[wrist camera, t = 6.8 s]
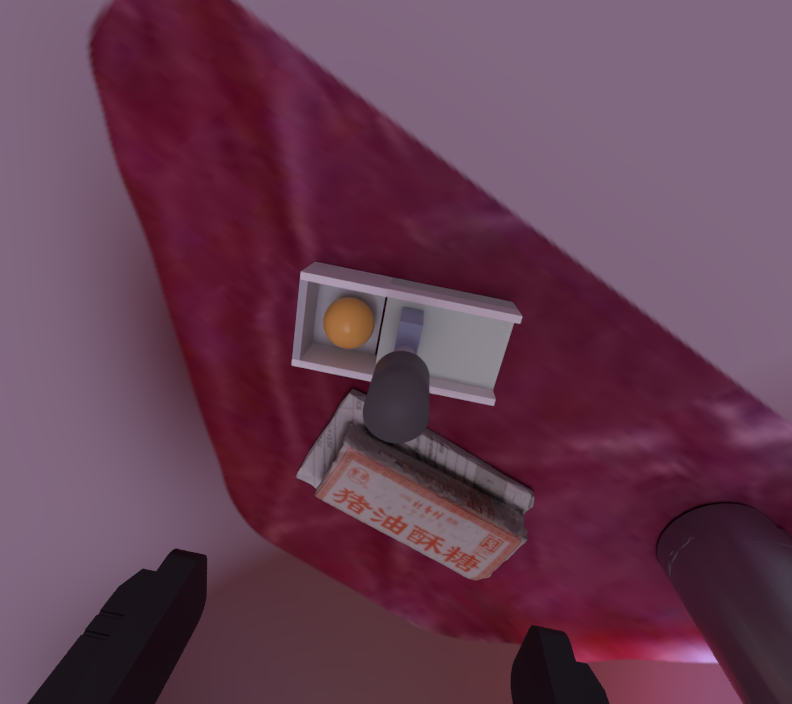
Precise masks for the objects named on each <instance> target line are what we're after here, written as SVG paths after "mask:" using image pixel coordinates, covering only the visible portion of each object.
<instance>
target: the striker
mask: <svg viewBox="0 0 792 704" xmlns="http://www.w3.org/2000/svg"><path fill="white" fill-rule="evenodd" d="M423 319H424V311H421V310H416V309H412V308H407V307H403V309H402V314H401V318H400V323H399V328H398V333H397V338H396V343H395V348H394V352H391V353H388V354H386V355H385V356H383V357H382V358H381V359H380V360H379V361H378V363H377V364H376V367H375V370H374V373H373V376H372V380H371V383H370V386H369V390H368V393H367V396H366V400H365V403H364V407H363V419H364V422H365V425H366V427H367V428H368V430H369V431H370V432H371V433H372V434H373V435H374V436H376V437H377V438H379V439H381V440H383V441H386V442H390V443H405V442H409V441H411V440H414V439H415V438H417V437H418V436H420V435H421V434H422V433H423V432H424V430H425V429H426V427H427V425H428V422H429V379H430V375H429V370H428V367H427V365H426V364H425V362H424V361H423V360H422V359H421V358H420V357H419V356H417V351H418V346H419V342H420V337H421V333H422V329H423Z"/></svg>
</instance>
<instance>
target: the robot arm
mask: <svg viewBox="0 0 792 704" xmlns="http://www.w3.org/2000/svg"><path fill="white" fill-rule="evenodd" d="M657 557H658V561H659V563H660V565H661V567H662V569H663V570H664V572H665V574H666V575H667V577H668V579H669V580H670V582H671V584H672V585H673V587H674V589H675V590H676V592H677V594H678V595H679V597H680V599H681V601H682V602H683V604H684V606H685V608H686V609H687V611H688V613H689V614H690V616H691V618H692V619H693V621H694V623H695V624H696V626H697V628H698V629H699V631H700V633H701V634H702V636H703V638H704V639H705V641H706V643H707V644H708V646H709V648H710V649H711V651H712V653H713V655H714V656H715V658H716V660H717V661H718V663H719V665H720V666H721V668H722V670H723V671H724V673H725V675H726V676H727V678H728V679H729V681H730V683H731V685H732V686H733V688H734V690H735V691H736V693H737V695H738V696H739V698H740V700H741V701H742V703H743V704H792V536H791V535H790V534H789V533H788V532H787V531H786V530H785V529H781V528H777V527H776V526H775V525H774V524H773V523H772V522H771V521H770V520H769V519H768V518H767V517H766V516H765V515H764V514H762V513H761V512H760V511H758V510H756V509H753V508H751V507H749V506H744V505H740V504H728V503H723V504H714V505H708V506H704V507H701V508H697V509H695V510H693V511H690V512H688V513H686V514H684V515H683V516H681V517H679V518H678V519H676V520H675V521H674V522H673V523H672V524H671V525H669V526H668V527H667V529H666V530H665V531H664V533H663V534H662V535H661V538H660V540H659V542H658V546H657ZM206 596H207V556H206V555H204V554H199V553H194V552H189V551H185V550H180V549H174V550H172V551H171V552H170V553H169V554H168V556H167V557H166V558H165V560H164V561H163V563H162V564H161V565H160V567H159V568H158V570H157V571H151V570H147V569H142V570H140V571H139V572H138V573H136V574H135V575H134V576H132V577H131V578H130V579H128V580H127V581H126V582H124V583H123V584H122V585H120V586H119V587H118V588H117V590H116V591H115V592H114V593H113V595H112V596H111V597H110V598H109V600H108V601H107V602H106V604H105V605H104V606H103V607H102V609H101V611H100V613H99V614H98V615H96V616H95V618H94V619H93V620H92V622H91V623H90V624H89V625H88V627H87V628H86V629H85V632H84V634H83V635H81V636H80V637H79V638H78V639H77V641H76V642H75V643H74V645H73V646H72V647H71V649H70V650H69V651H68V652H67V654H66V655H65V656H64V657H63V659H62V660H61V661H60V663H59V664H58V665H57V666H56V668H55V669H54V670H53V672H52V673H51V674H50V675H49V677H48V678H47V679H46V681H45V682H44V683H43V684H42V686H41V687H40V688H39V690H38V691H37V692H36V693H35V695H34V696H33V697H32V699H31V700H30V701H29V703H28V704H155V703H156V701H157V699H158V697H159V696H160V694H161V692H162V690H163V688H164V686H165V684H166V682H167V681H168V679H169V677H170V675H171V673H172V671H173V669H174V668H175V666H176V664H177V662H178V660H179V658H180V656H181V654H182V653H183V651H184V649H185V647H186V645H187V643H188V641H189V639H190V638H191V636H192V634H193V632H194V630H195V628H196V626H197V624H198V622H199V620H200V618H201V615H202V612H203V609H204V606H205V602H206ZM511 694H512V700H513V704H609V701H608V699H607V696H606V693H605V690H604V689H603V687H602V686H601V684H600V682H599V681H598V679H597V678H596V676H595V675H594V673H593V671H592V670H591V668H590V667H589V665H588V664H586V663H581V662H576V660H575V657H574V653H573V650H572V647H571V643H570V640H569V638H568V636H567V635H566V633H565V632H563V631H559V630H554V629H549V628H544V627H540V626H535V625H532V626H531V627H530V628H529V630H528V632H527V634H526V636H525V639H524V641H523V643H522V645H521V647H520V649H519V651H518V654H517V655H516V658H515V660H514V662H513V666H512V671H511Z"/></svg>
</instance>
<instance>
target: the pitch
mask: <svg viewBox="0 0 792 704" xmlns="http://www.w3.org/2000/svg"><path fill="white" fill-rule="evenodd" d="M387 297H388V298H387V304H386V309H385V315H384V320H383V325H382V331H381V336H380V342H379V347H378V352H377V358H376V363H375V367H376V364H377V363H378V361H379V360H380V359H381V358H382V357H383V356H385V355H386V354H388V353H391V352H394V348H395V343H396V338H397V333H398V328H399V323H400V318H401V314H402V309H403V307H407V308H412V309H416V310H421V311H424V319H423V329H422V333H421V337H420V342H419V346H418V351H417V356H419V357H420V358H421V359H422V360H423V361H424V362H425V364H426V365H427V367H428V370H429V375H430V379H429V393H432V394H437V395H442V396H447V397H452V398H457V399H462V400H467V401H472V402H477V403H481V404H486V405H491V406H494V404H495V400H496V399H495V395H494V392H493V388H494V385H495V382H496V379H497V376H498V372H499V369H500V366H501V363H502V360H503V356H504V353H505V350H506V347H507V344H508V341H509V337H510V334H511V331H512V328H513V325H514V323H518V324H520V323H521V320H522V315H521V313H520V312H519V311H518V309H517V308H516V306H515V305H514V303H513V302H511V301H506V300H501V299H496V298H492V297H487V296H482V295H477V294H472V293H467V292H462V291H457V290H452V289H447V288H443V287H438V286H433V285H428V284H423V283H418V282H413V281H408V280H403V279H398V278H392V281H391V283H390V286H389V288H388V293H387ZM374 370H375V368H374ZM373 373H374V371H373ZM372 376H373V374H372Z"/></svg>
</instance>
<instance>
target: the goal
mask: <svg viewBox="0 0 792 704" xmlns="http://www.w3.org/2000/svg"><path fill="white" fill-rule="evenodd" d="M392 278H393V277H389V276H384V275H379V274H374V273H369V272H364V271H359V270H354V269H349V268H344V267H340V266H335V265H330V264H325V263H320V262H314V263H312V264H311V265H310V266H308V267H307V268H305V269H304V270H302V271H301V275H300V285H299V295H298V305H297V315H296V325H295V335H294V346H293V356H292V366H297V367H302V368H307V369H311V370H316V371H321V372H326V373H331V374H336V375H341V376H346V377H351V378H356V379H360V380H365V381H370V382H371V380H372V374H373V371H374V368H375V363H376V358H377V355H375V352H376V346H377V341H378V336H379V330H380V325H381V319H382V314H383V308H384V303H385V297H387V293H388V288H389V286H390V283H391V281H392ZM346 297H352V298H356V299H359V300H361V301H363V302H364V303H366V304H367V305H368V306H369V308H370V309H371V311H372V313H373V315H374V320H375V327H374V331H373V334H372V336H371V337H370V339H369V340H368V341H367V342H366V343H365V344H363V345H362V346H360V347H357V348H353V349H345V348H341V347H339V346H337V345H335V344H333V343H332V342H331V341H330V340H329V339H328V337H327V336H326V334H325V331H324V327H323V318H324V315H325V312H326V310H327V309H328V307H329V306H330V305H331V304H332V303H333V302H335V301H336V300H338V299H341V298H346Z"/></svg>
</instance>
